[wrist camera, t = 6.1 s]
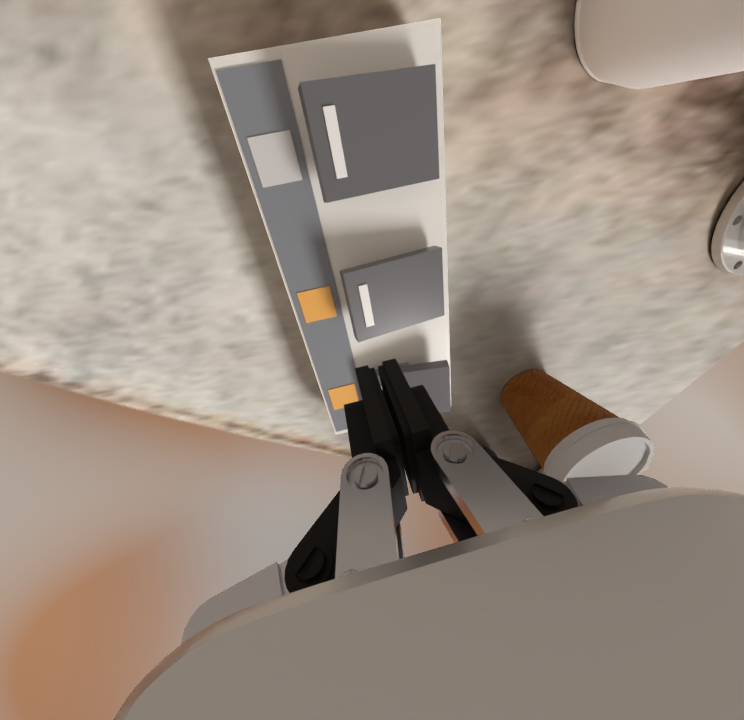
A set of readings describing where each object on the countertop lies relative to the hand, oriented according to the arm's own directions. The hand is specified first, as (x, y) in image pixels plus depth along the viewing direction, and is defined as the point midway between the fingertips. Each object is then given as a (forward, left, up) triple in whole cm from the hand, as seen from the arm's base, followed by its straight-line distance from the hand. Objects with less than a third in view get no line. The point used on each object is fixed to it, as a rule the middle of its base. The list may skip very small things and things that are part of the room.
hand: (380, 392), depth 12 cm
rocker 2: (-3, +9, -10) cm, 14 cm away
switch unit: (-2, 0, -16) cm, 16 cm away
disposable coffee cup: (-19, +18, -16) cm, 30 cm away
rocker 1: (-3, -9, -10) cm, 14 cm away
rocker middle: (-3, 0, -10) cm, 11 cm away
